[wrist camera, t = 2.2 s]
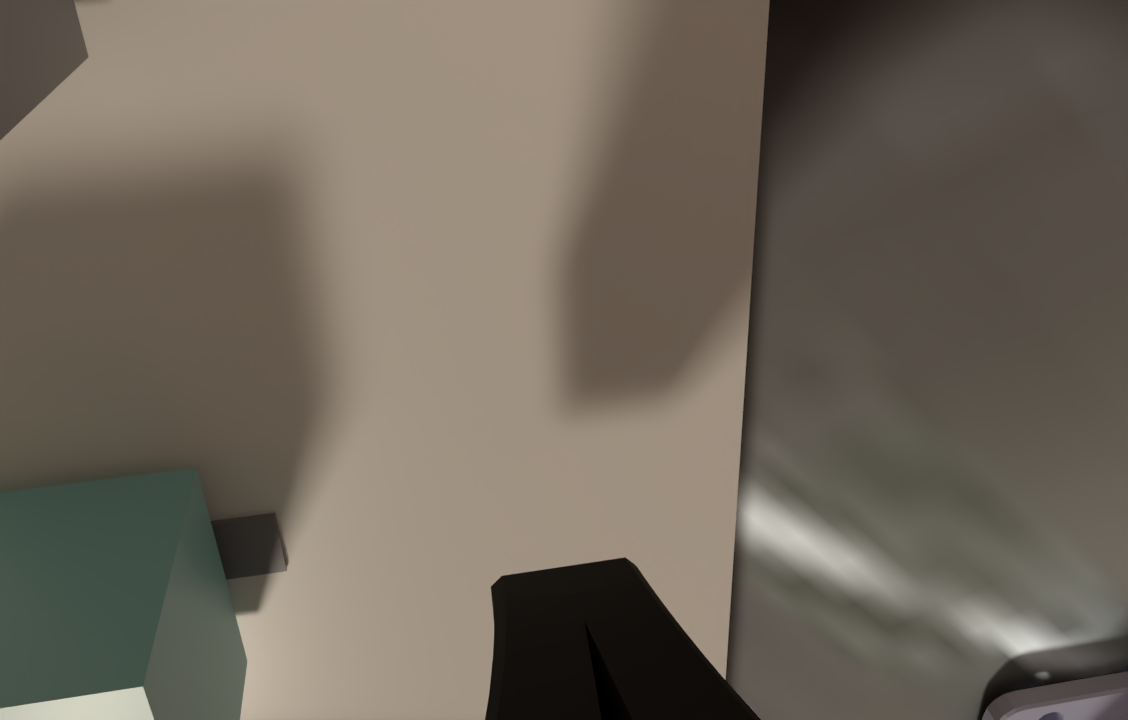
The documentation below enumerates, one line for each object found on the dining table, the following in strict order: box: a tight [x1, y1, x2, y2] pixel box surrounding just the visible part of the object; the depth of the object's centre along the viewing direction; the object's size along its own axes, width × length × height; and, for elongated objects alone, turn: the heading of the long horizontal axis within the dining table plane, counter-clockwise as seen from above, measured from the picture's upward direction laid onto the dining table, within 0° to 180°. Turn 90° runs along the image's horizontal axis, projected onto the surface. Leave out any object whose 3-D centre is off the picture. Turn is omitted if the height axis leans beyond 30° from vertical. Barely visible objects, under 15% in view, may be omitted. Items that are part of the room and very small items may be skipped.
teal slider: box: [0, 468, 247, 720], centre depth 10 cm, size 3×3×3 cm
